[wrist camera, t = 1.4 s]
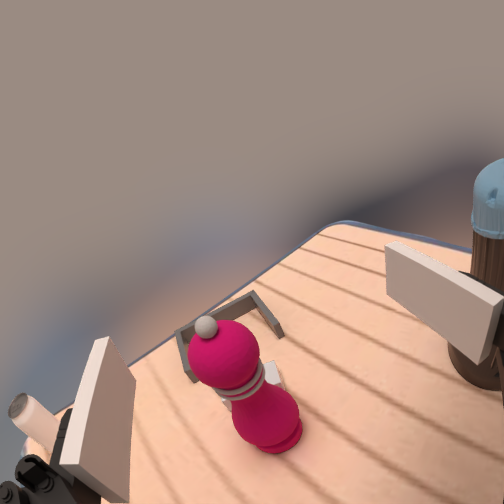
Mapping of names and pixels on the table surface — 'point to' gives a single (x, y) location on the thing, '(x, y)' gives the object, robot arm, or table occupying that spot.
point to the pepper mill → (244, 384)
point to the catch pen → (225, 313)
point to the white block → (270, 376)
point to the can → (34, 420)
